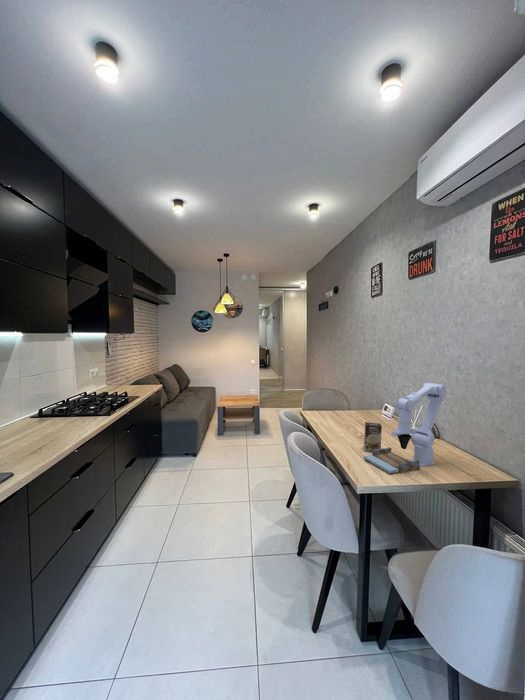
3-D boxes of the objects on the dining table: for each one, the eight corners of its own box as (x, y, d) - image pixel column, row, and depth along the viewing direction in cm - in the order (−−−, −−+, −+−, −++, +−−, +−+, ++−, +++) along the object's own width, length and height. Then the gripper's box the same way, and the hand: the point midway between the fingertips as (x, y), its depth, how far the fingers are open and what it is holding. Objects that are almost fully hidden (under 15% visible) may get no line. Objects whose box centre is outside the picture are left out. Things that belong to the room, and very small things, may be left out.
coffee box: (364, 451, 175) (365, 424, 175) (363, 447, 181) (364, 421, 181) (381, 453, 173) (381, 426, 172) (379, 449, 179) (380, 423, 178)
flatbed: (390, 455, 170) (390, 447, 170) (419, 469, 152) (420, 460, 152) (372, 458, 166) (372, 450, 166) (400, 473, 147) (400, 464, 147)
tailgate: (372, 454, 165) (363, 456, 163) (399, 468, 147) (389, 470, 145) (372, 457, 165) (363, 458, 163) (399, 471, 147) (389, 473, 145)
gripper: (408, 419, 158) (407, 444, 159) (387, 421, 153) (386, 447, 154) (420, 422, 152) (419, 448, 152) (398, 425, 147) (397, 452, 147)
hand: (403, 448), depth 152 cm, fingers closed
